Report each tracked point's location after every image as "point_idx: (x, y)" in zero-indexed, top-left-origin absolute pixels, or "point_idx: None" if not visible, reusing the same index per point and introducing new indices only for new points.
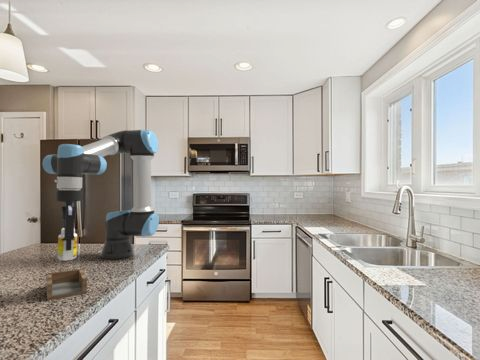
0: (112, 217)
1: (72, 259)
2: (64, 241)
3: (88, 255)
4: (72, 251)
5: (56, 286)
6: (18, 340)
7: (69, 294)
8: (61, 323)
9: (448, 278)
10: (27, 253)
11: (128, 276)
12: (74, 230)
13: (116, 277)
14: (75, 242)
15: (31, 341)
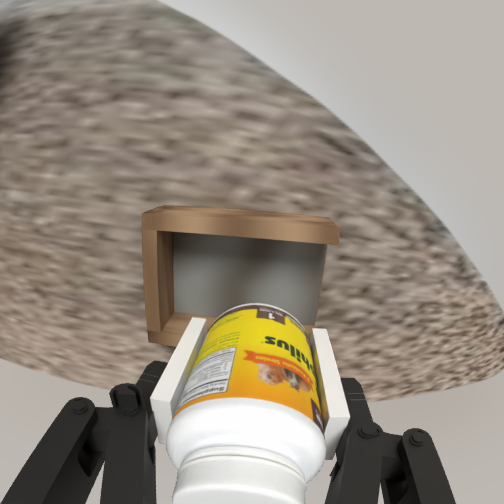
0: None
1: (325, 330)
2: (332, 452)
3: None
4: (334, 360)
5: (208, 301)
6: (477, 369)
7: (322, 275)
8: (479, 309)
9: None
10: None
11: (214, 33)
12: (273, 472)
13: (195, 74)
14: (301, 378)
15: (494, 351)
